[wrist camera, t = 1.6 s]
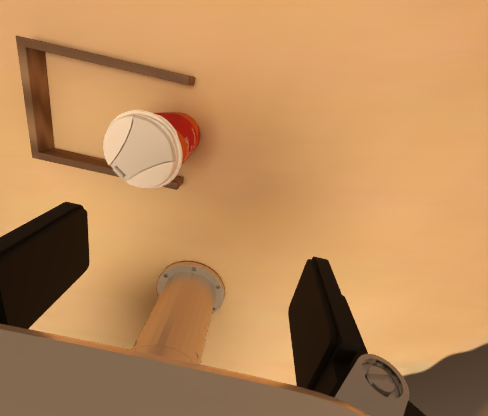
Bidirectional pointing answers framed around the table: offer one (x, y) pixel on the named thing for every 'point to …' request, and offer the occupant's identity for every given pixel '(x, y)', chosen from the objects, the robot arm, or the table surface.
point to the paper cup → (149, 146)
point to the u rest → (39, 101)
